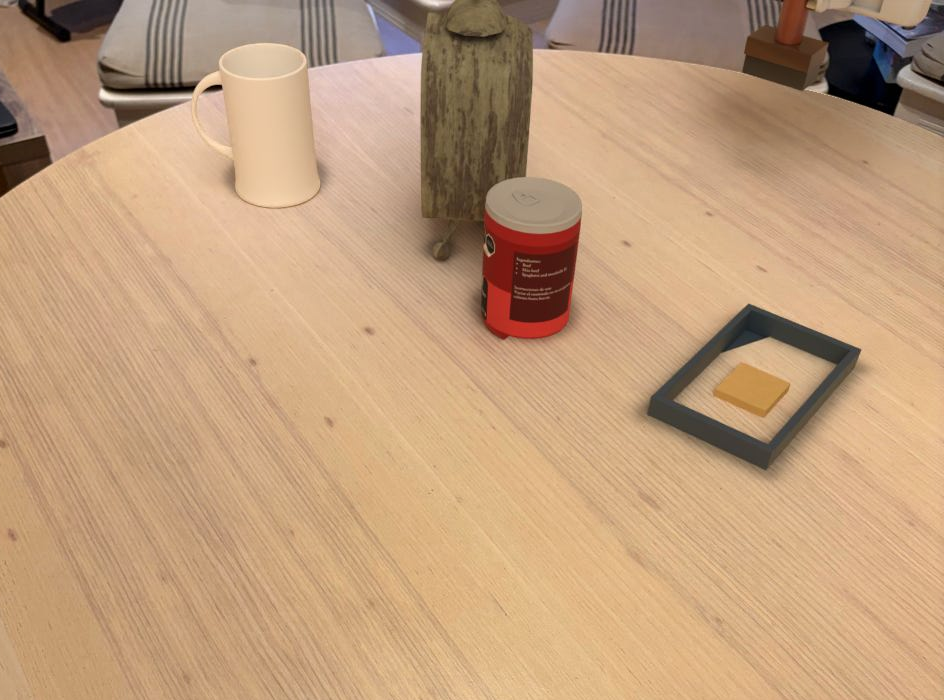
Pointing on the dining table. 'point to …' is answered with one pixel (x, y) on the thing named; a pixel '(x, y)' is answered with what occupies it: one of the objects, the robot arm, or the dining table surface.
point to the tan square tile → (752, 389)
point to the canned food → (529, 257)
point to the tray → (735, 334)
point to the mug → (266, 123)
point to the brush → (785, 49)
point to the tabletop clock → (472, 109)
